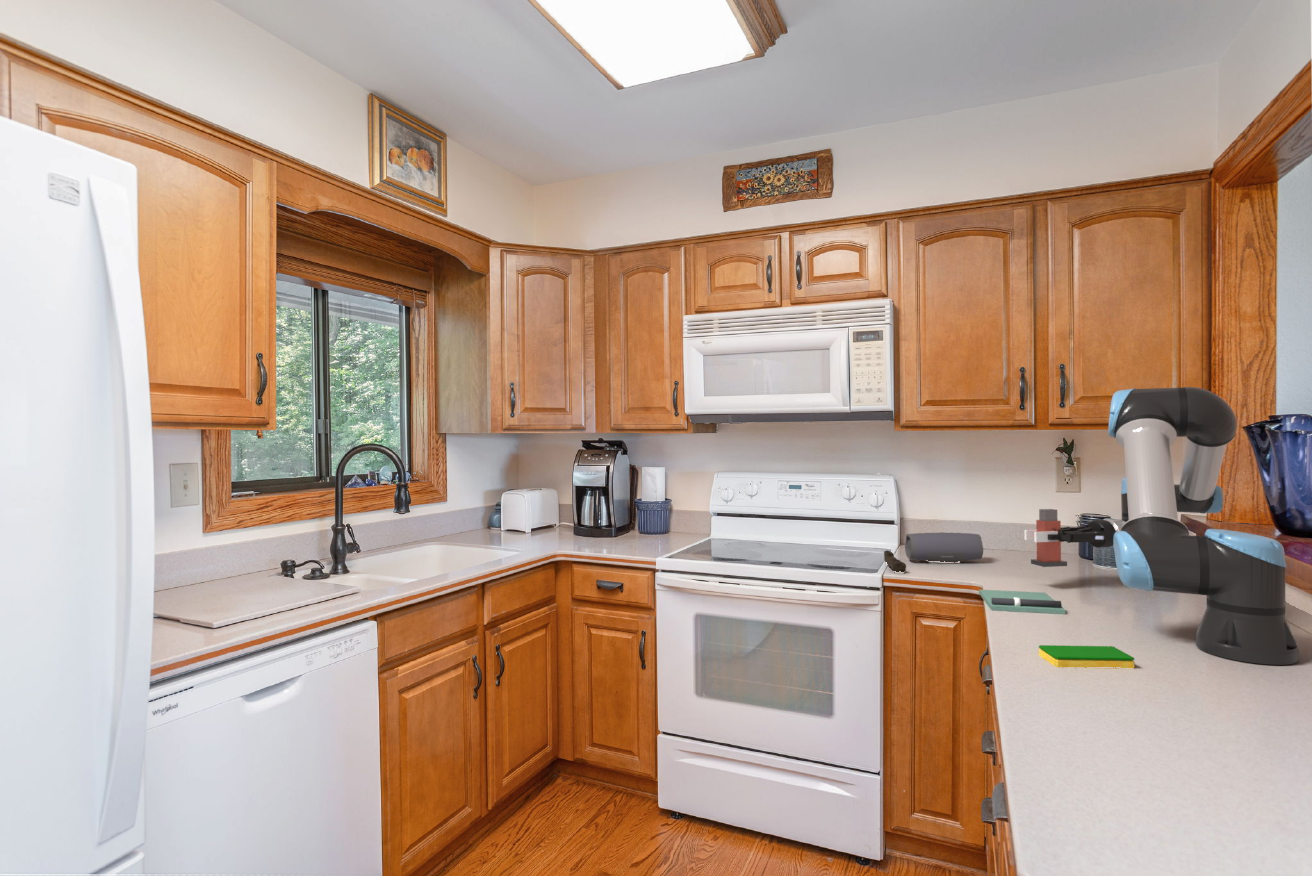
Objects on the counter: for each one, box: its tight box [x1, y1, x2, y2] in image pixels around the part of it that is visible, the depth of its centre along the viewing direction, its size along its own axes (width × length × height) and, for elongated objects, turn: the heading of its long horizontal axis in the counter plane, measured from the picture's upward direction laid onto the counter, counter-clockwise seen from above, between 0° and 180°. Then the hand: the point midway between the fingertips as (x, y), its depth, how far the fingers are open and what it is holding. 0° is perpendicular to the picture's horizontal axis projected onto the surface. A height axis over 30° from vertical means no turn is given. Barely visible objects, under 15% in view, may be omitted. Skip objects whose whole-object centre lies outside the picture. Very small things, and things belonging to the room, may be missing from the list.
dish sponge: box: [1038, 644, 1135, 669], centre depth 128 cm, size 7×14×2 cm, turn 84°
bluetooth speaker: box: [904, 532, 984, 562], centre depth 226 cm, size 23×9×10 cm, turn 84°
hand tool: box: [883, 549, 907, 572], centre depth 218 cm, size 19×4×5 cm, turn 171°
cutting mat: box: [978, 589, 1066, 615], centre depth 172 cm, size 18×16×3 cm
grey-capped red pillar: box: [1030, 508, 1068, 568], centre depth 186 cm, size 5×7×15 cm
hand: (1030, 536), depth 185 cm, fingers closed on grey-capped red pillar, 3 cm apart
